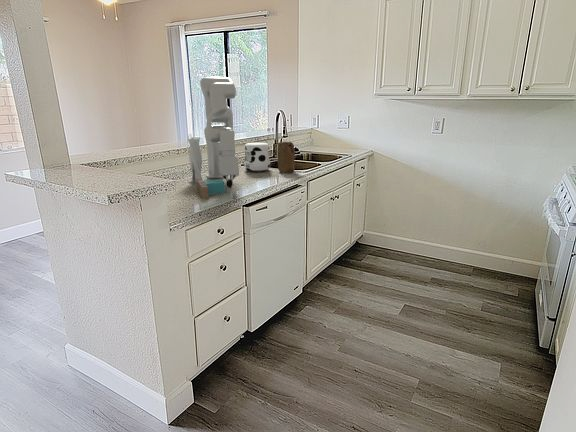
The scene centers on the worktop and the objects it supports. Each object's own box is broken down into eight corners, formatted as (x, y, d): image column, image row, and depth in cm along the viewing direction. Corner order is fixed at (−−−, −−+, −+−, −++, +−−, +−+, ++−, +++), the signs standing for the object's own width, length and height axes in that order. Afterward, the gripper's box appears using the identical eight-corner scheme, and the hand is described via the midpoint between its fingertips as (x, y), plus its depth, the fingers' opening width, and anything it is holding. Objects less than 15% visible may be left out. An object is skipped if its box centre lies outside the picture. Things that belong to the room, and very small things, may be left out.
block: (276, 172, 251) (276, 142, 245) (281, 170, 258) (280, 140, 252) (292, 173, 248) (292, 142, 241) (296, 171, 254) (296, 141, 248)
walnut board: (196, 189, 209) (196, 179, 207) (202, 189, 210) (201, 178, 208) (202, 198, 191) (201, 187, 189) (208, 198, 192) (208, 186, 190)
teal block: (203, 191, 206) (203, 180, 204) (222, 189, 209) (221, 179, 207) (206, 195, 199) (205, 183, 197) (225, 193, 202) (224, 182, 200)
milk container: (271, 168, 265) (271, 142, 259) (268, 173, 249) (267, 145, 243) (247, 168, 267) (246, 142, 261) (242, 173, 250) (241, 145, 244)
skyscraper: (187, 182, 226) (183, 134, 217) (199, 180, 231) (196, 133, 222) (193, 184, 220) (189, 135, 211) (206, 182, 225) (202, 134, 216)
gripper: (214, 155, 193) (217, 190, 199) (243, 153, 198) (244, 187, 204) (212, 153, 200) (214, 187, 205) (240, 151, 205) (241, 184, 210)
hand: (229, 187), depth 204 cm, fingers closed
